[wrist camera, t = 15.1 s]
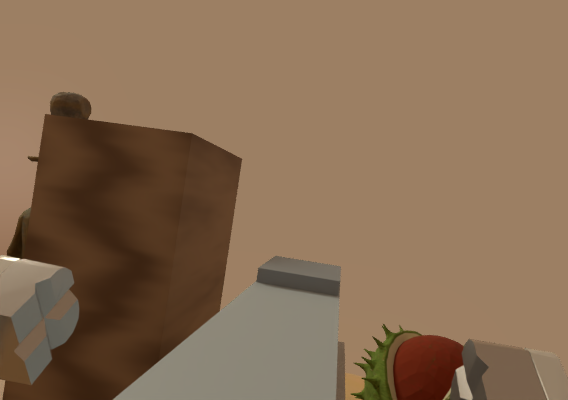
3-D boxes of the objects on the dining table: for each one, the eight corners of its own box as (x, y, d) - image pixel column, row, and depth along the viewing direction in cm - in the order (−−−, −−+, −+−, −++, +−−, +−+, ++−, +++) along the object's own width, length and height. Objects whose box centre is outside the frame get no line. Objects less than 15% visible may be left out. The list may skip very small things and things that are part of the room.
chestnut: (536, 453, 31) (337, 343, 37) (468, 573, 37) (307, 460, 43) (555, 335, 43) (401, 268, 49) (501, 441, 49) (371, 368, 55)
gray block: (259, 1142, 3) (337, 598, 3) (-147, 975, 4) (-76, 491, 4) (330, 343, 24) (341, 265, 24) (264, 331, 25) (276, 254, 25)
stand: (-21, 554, 27) (45, 114, 27) (96, 443, 40) (140, 144, 40) (124, 593, 26) (192, 133, 26) (196, 466, 39) (241, 158, 39)
